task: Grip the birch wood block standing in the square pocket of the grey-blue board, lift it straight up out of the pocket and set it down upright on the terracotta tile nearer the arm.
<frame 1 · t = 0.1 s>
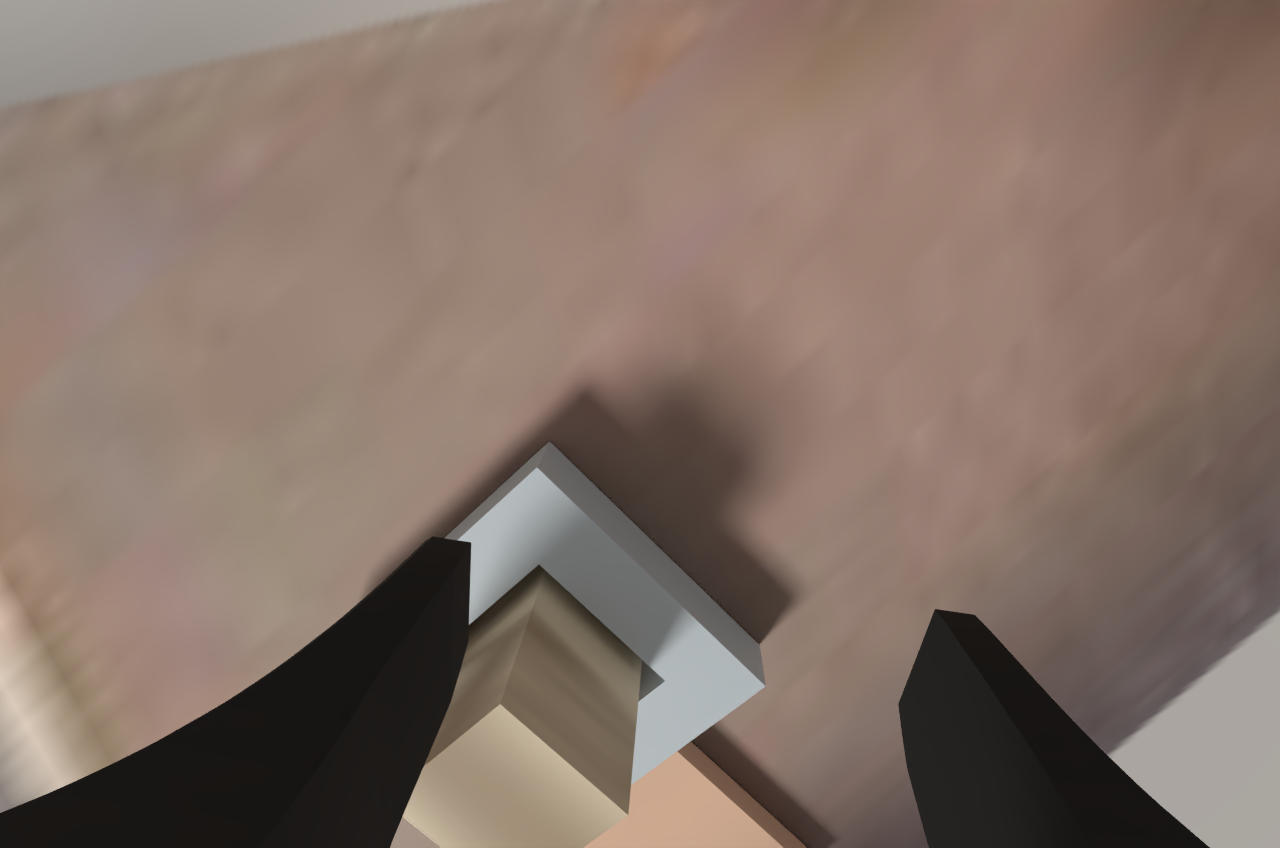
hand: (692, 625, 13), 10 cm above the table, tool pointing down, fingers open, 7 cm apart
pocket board: (552, 634, 25), on the table
terracotta tile: (669, 847, 28), on the table
birch block: (532, 707, 22), in the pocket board
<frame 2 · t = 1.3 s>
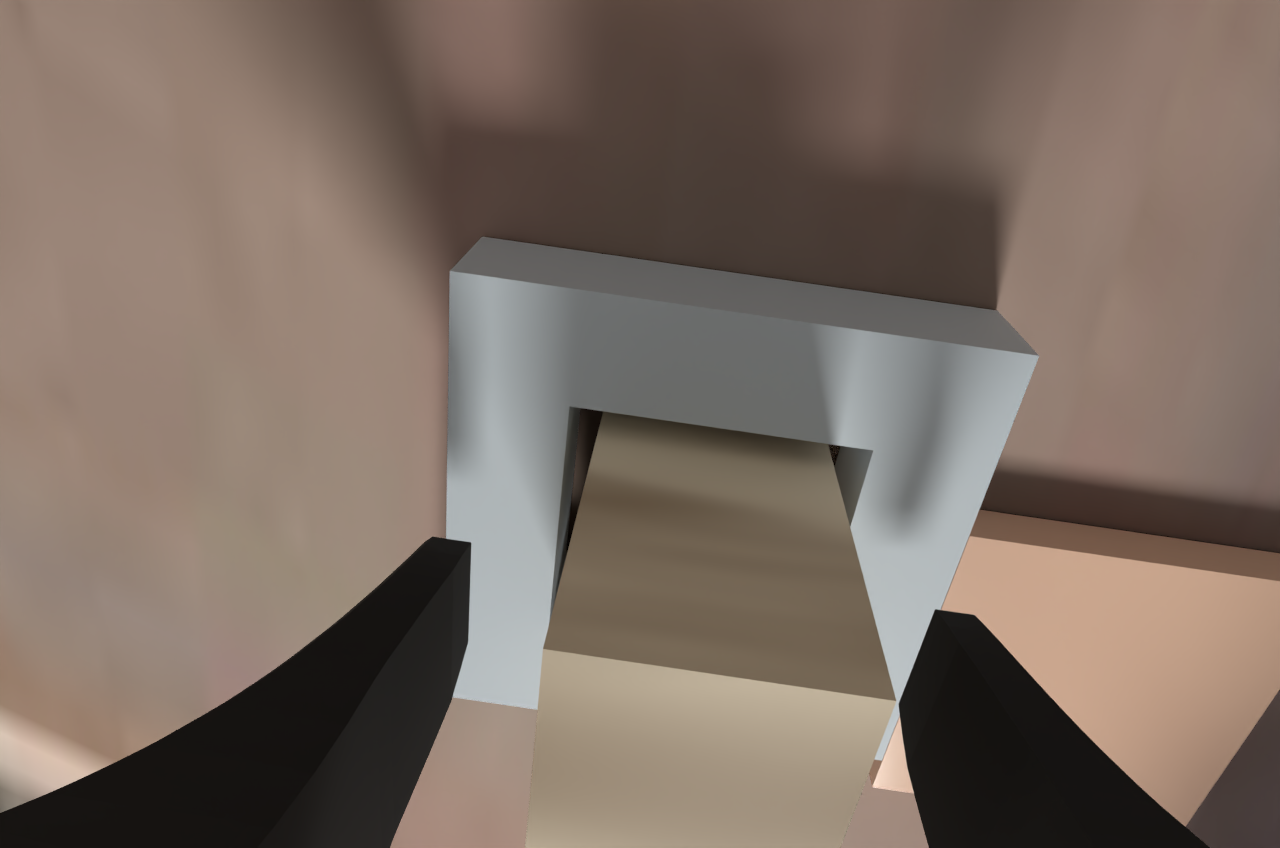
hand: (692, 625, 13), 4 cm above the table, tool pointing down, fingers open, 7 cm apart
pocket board: (698, 490, 16), on the table
terracotta tile: (1066, 663, 18), on the table
birch block: (695, 605, 13), in the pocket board
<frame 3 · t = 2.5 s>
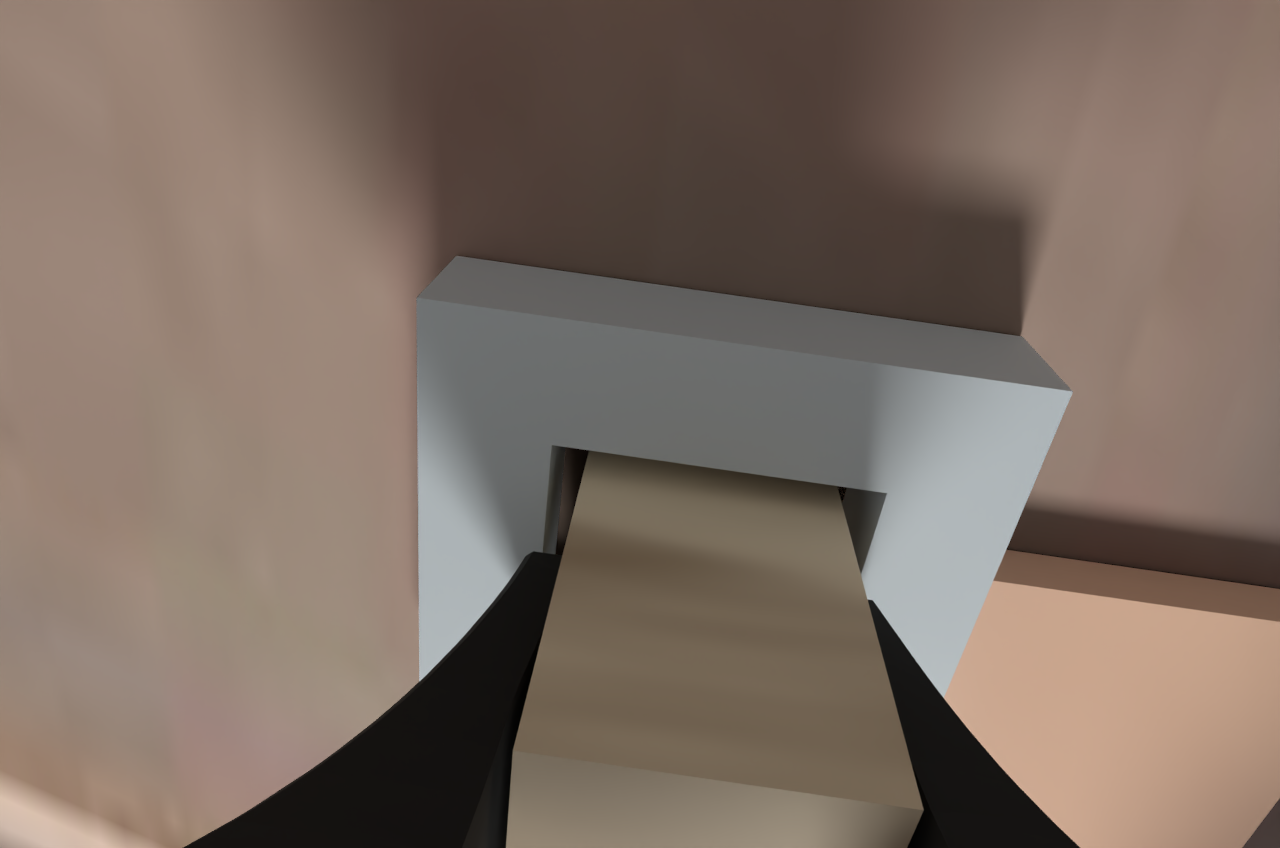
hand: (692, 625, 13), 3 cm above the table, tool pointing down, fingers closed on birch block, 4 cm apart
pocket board: (694, 527, 15), on the table
terracotta tile: (1090, 709, 16), on the table
birch block: (691, 666, 12), in the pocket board, touching gripper
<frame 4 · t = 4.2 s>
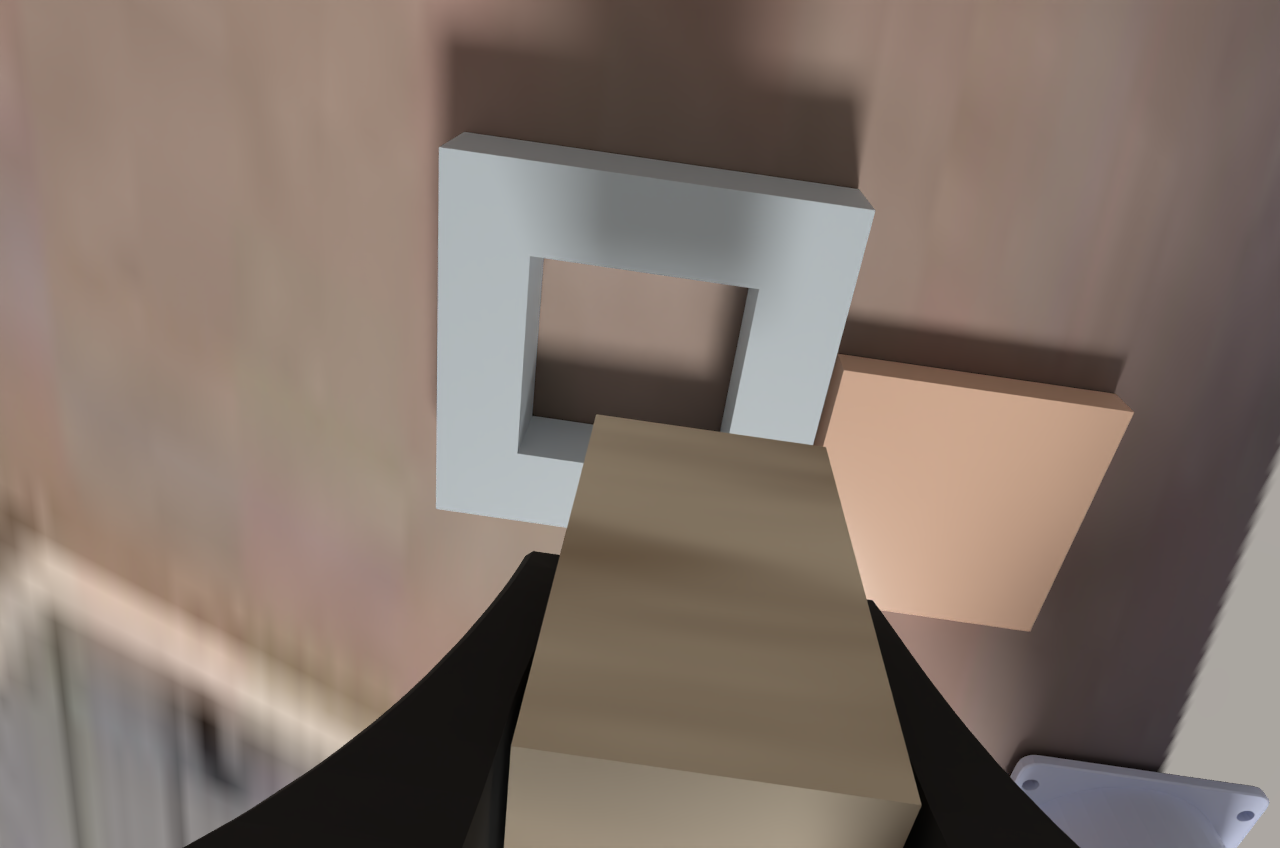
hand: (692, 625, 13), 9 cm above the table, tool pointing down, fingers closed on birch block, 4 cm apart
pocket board: (636, 343, 20), on the table
terracotta tile: (934, 490, 22), on the table
birch block: (690, 663, 12), point 10 cm above the table, touching gripper
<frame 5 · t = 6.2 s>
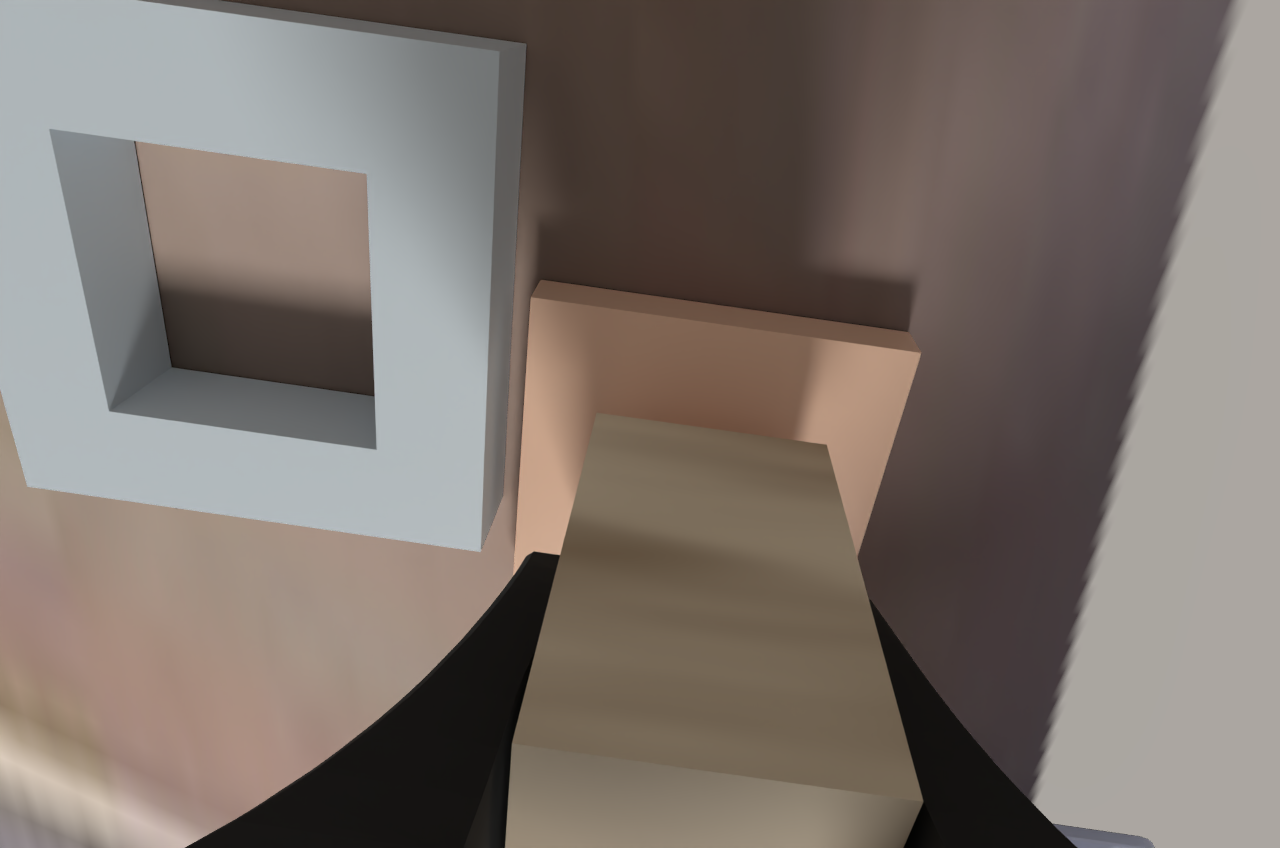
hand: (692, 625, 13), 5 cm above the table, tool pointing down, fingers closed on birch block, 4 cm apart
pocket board: (280, 267, 16), on the table
terracotta tile: (695, 463, 17), on the table
birch block: (691, 661, 12), point 6 cm above the table, touching gripper
when the fingers open (5 cm above the table, at t = 6.3 s): birch block drops 1 cm, resting on terracotta tile.
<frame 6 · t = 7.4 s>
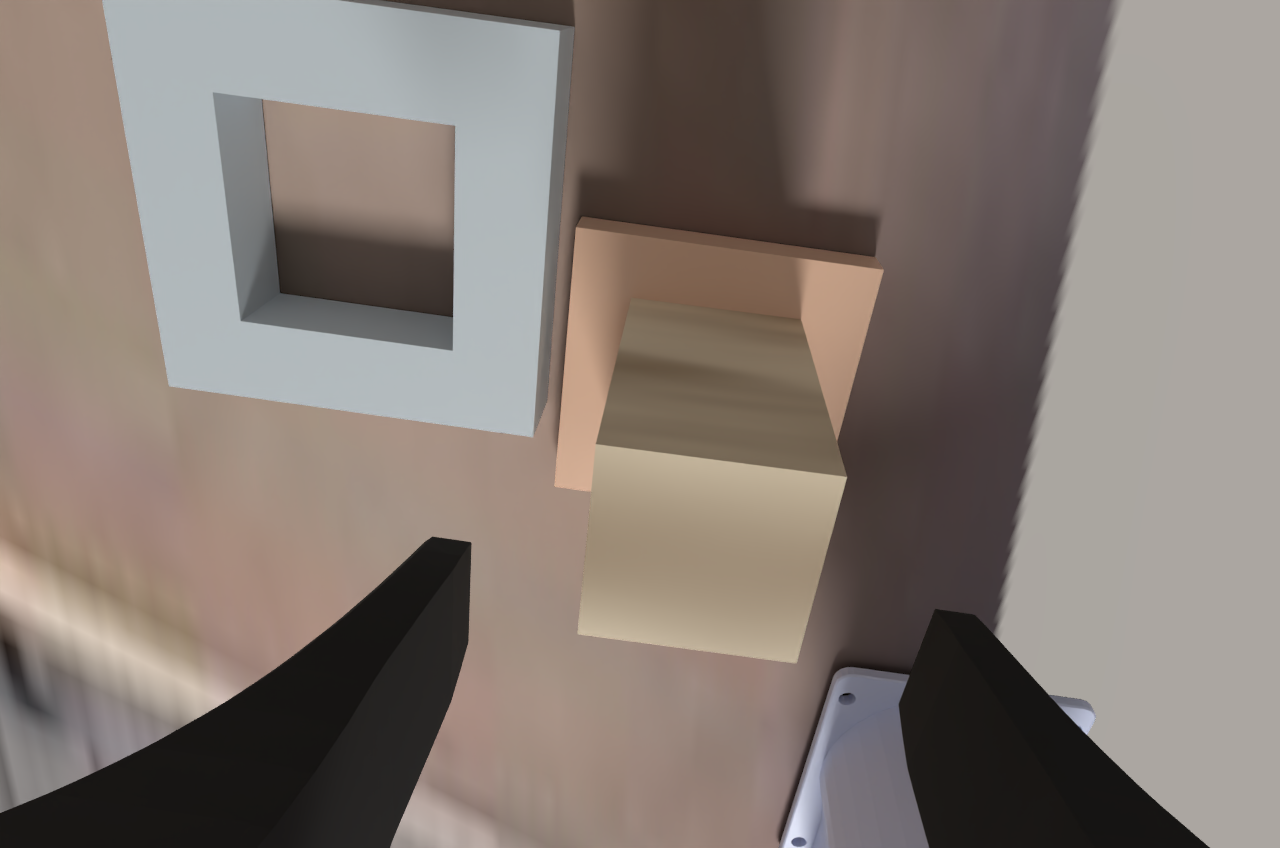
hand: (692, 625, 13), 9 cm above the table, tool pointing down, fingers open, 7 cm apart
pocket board: (373, 208, 19), on the table
terracotta tile: (705, 370, 21), on the table
birch block: (703, 457, 17), on the terracotta tile, point 4 cm above the table
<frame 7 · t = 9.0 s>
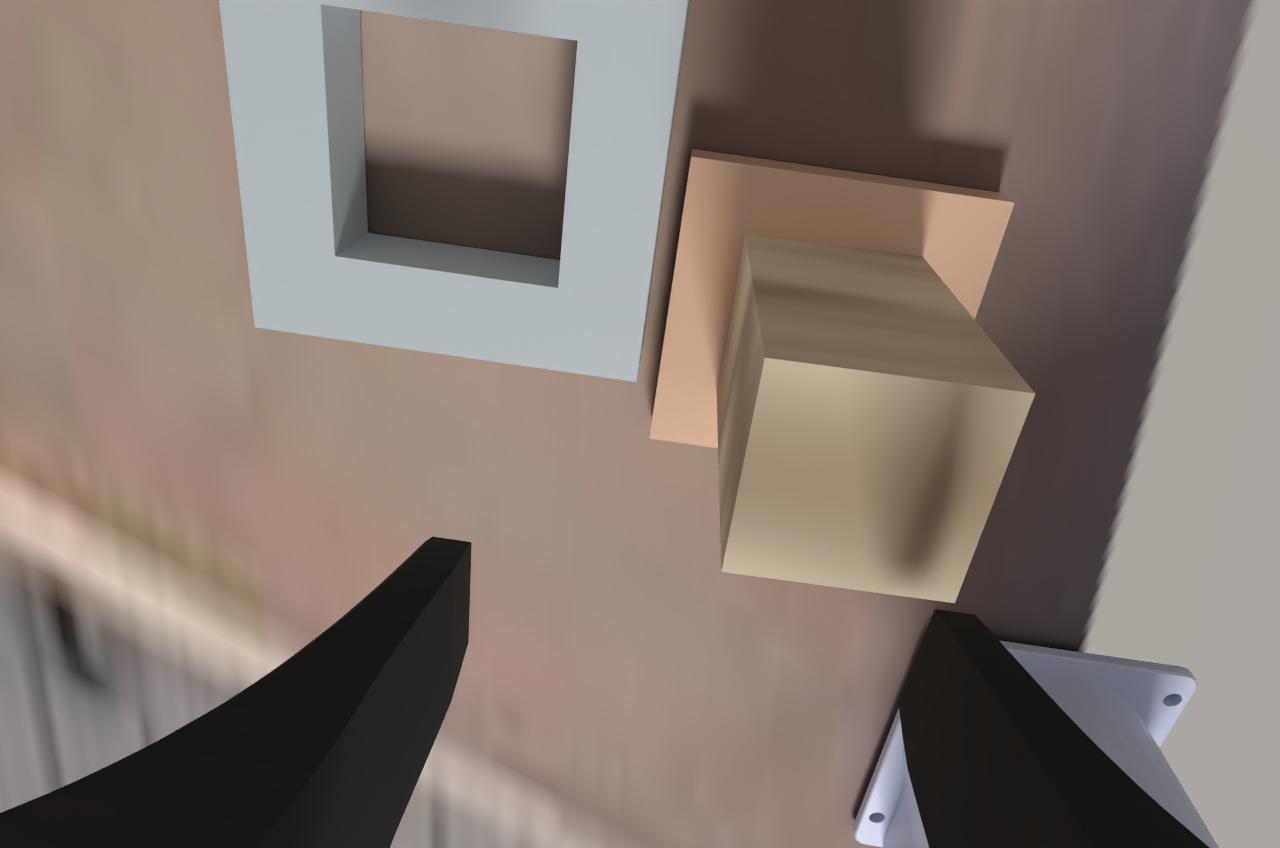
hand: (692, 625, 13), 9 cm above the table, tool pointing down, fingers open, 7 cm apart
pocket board: (472, 140, 19), on the table
terracotta tile: (811, 315, 20), on the table
birch block: (835, 393, 16), on the terracotta tile, point 4 cm above the table
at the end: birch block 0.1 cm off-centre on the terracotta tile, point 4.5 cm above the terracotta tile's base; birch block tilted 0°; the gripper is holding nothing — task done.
